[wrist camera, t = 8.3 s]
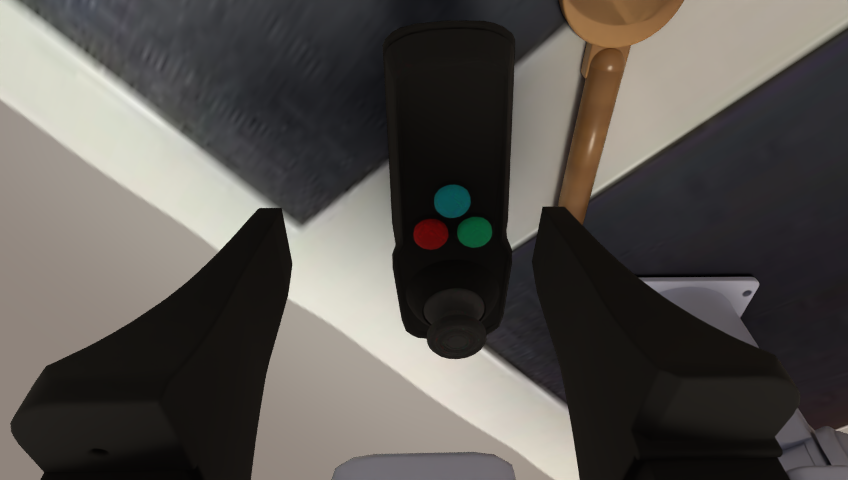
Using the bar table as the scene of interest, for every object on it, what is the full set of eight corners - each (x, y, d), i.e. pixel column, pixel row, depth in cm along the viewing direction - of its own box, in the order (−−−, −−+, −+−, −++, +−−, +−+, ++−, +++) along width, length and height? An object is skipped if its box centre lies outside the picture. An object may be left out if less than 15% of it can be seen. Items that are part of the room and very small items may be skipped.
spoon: (615, 237, 29) (623, 254, 27) (504, 237, 28) (508, 254, 27) (744, -166, 18) (766, -164, 16) (564, -170, 17) (575, -167, 16)
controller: (401, 227, 28) (399, 392, 20) (380, -33, 20) (363, 76, 12) (483, 223, 28) (514, 387, 20) (495, -38, 20) (553, 67, 12)
